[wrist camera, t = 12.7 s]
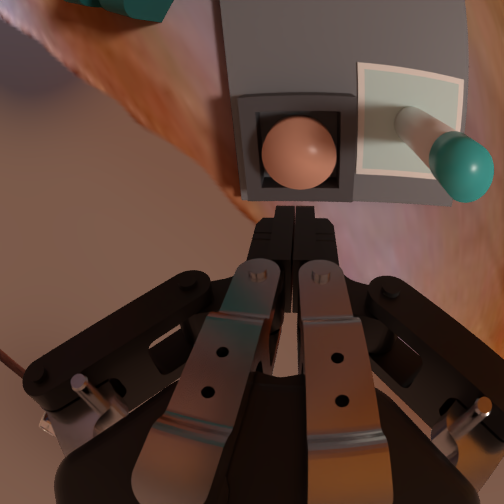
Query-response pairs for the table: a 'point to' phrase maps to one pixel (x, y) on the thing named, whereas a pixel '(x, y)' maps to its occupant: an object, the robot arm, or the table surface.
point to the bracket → (132, 7)
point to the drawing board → (346, 88)
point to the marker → (447, 154)
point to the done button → (299, 152)
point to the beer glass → (46, 424)
